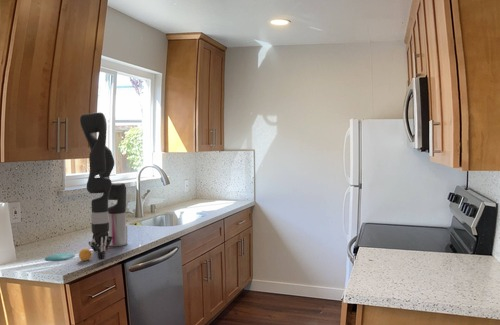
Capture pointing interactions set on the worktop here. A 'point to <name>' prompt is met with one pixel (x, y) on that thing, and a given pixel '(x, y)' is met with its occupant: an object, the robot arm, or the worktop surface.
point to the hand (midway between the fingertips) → (101, 259)
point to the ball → (85, 254)
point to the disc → (59, 257)
